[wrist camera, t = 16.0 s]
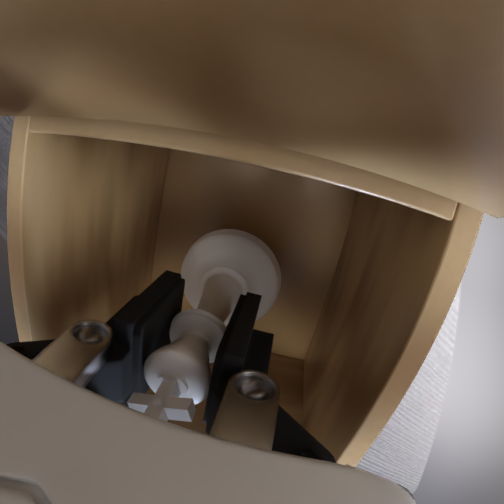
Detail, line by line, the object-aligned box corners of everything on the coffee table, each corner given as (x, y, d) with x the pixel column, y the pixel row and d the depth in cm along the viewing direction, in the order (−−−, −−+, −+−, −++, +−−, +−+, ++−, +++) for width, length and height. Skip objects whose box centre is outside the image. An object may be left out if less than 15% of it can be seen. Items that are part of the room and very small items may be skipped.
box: (311, 364, 22) (310, 518, 10) (142, 318, 22) (44, 431, 11) (373, 170, 17) (488, 199, 6) (168, 125, 18) (15, 104, 7)
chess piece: (284, 319, 16) (263, 492, 7) (192, 322, 17) (105, 466, 8) (276, 224, 15) (237, 347, 5) (176, 233, 16) (36, 335, 6)
